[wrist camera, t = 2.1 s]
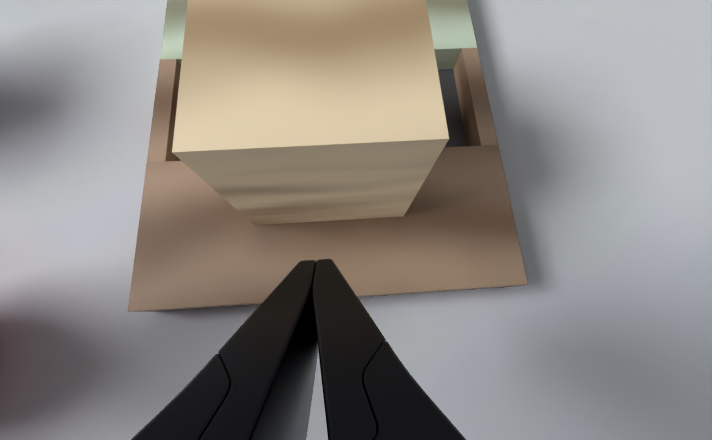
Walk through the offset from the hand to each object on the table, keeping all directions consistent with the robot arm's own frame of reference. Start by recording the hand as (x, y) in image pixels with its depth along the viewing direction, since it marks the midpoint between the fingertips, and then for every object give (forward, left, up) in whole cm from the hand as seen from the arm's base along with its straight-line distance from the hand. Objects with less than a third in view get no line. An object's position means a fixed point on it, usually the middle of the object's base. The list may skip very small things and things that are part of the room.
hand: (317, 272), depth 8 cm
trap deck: (+10, -7, -10) cm, 15 cm away
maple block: (+6, -4, -8) cm, 11 cm away
